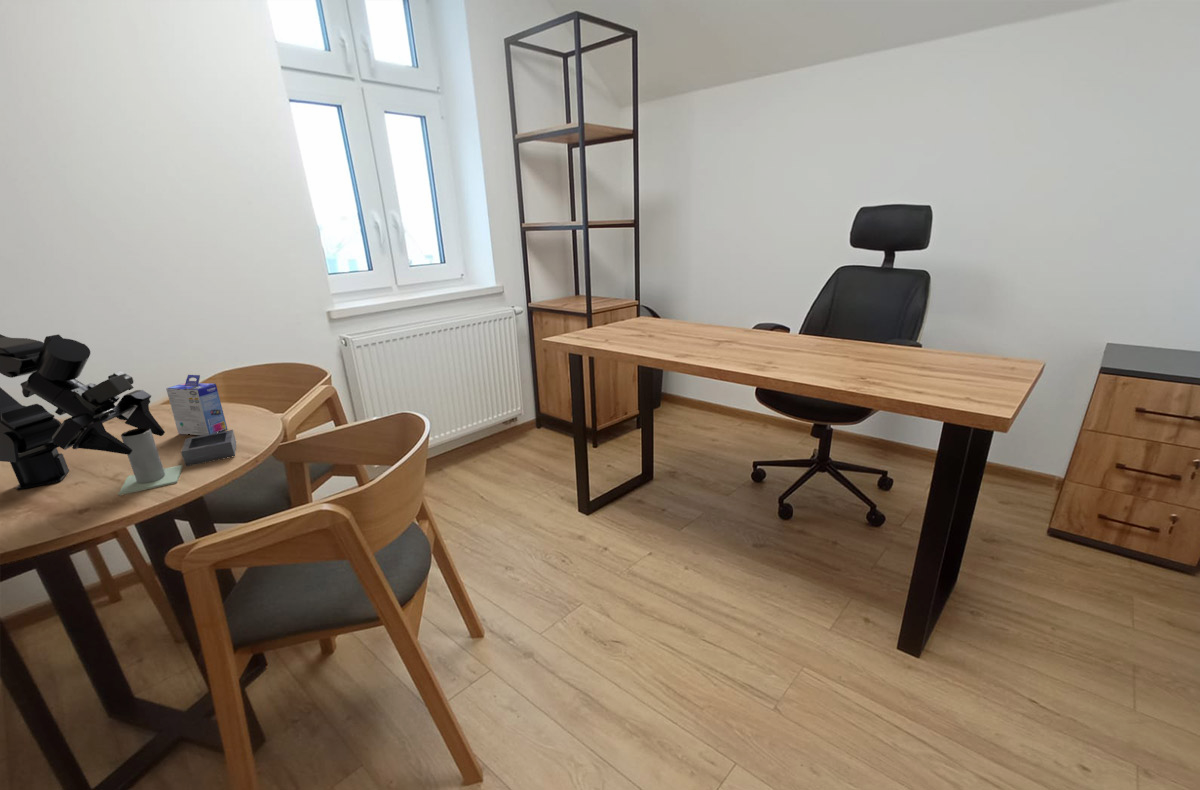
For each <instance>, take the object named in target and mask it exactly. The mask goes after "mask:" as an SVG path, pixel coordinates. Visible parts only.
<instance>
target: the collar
mask: <svg viewBox="0 0 1200 790" xmlns="http://www.w3.org/2000/svg"><path fill="white" fill-rule="evenodd" d="M236 443H237V439H236V435H235V432H234V429H229V430H223V431H220V432H218V433H213V434H207V435H195V436H192V437H187V438H185V441H184V442H183V445H182V448H181V451H180V453H181V456H182V459H183V462H184V465H185V467H191V466H195V465H200V464H205V462H206V463H210V462H209V461H211V462H214V461H213V460H215V461H218V459H220V460H224V459H223V458H225V459H228V458H227V457H230V458H233V457H232V456H235V457H236V452H235V451H237V444H236Z"/></svg>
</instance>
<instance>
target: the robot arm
mask: <svg viewBox="0 0 1200 790" xmlns="http://www.w3.org/2000/svg"><path fill="white" fill-rule="evenodd" d="M90 356H91V350H90V348H89V347H88V345H86V344H85V343H82V342H80V341H77V340H75V339H71V338H66V337H65V338H64V337H62V335H60V334H53V335H47V336H45V338H44V340H43V341H41V340H36V339H32V338H26V337H25V338H24V337H23V338H22V337H8V336H5V335H3V334H0V374H1V375H2V376H4V377H6V378H12V379H13V378H17V377H22V376H26V375H29V376H28V378H27V380H26V381H23V382H20V387H21V389H22V390H21V393H22V396H23V397H24V398H29V397H32V396H34V395H35V396H37V397H39V398H41V399H42V400H44V401H45V402H47V403H49V404H51V405H52V406H54V407H56V408H57V409H56V410H55V411H54V413H55V414H57V415H58V416H63V415H65V414H68V415H69V416H71V417H69V418H66V419H65V420H63V421H62V422H61V421H60V420H58V419H57V418H55V414H52V413H50V412H49V411H48V410H47V409H46V408H45V407H44V406H43V405H41V404H39V403H34V404H30V405H22V404H21V403H20V402H19V401H17V399H15V398H14V397H13V396H11V395H10V394H9V393H8V392H7V391H5V390H4V389H3V388H2V387H1V386H0V462H2V463H3V462H5V463H6V462H8V463H10V466H11V468H12V470H13V472H14V475H15V477H16V479H17V482H18V485H17V486H16V487H15V489H16V490H17V491H20V490H25V489H28V488H29V489H30V488H34V487H39V486H44V485H50V484H55V483H59V482H61V481H62V480H64V478H65V477H66V476H67V474H68V473H69V471H70V469H69V466H68V465H67V462H66V459H65V456H64V454H63V453H59V450H58V448H60V449H62V450H64V451H65V450H67V449H70V448H71V449H73V450H78V449H83V450H93V451H101V452H107V453H115V454H121V455H127V456H128V455H129V454H131V452H132V451H133V450H132V449H131V448H129V447H128V446H127V445H126V444H124V443H123V441H122V440H120V439H119V438H117V437H115V436H114V435H112V434H111V433H110V432H108V431H107V430H106V428H105V425H104V424H103V423H106V422H108V421H110V420H113V419H114V418H117V420H118V419H119V420H120V421H125V422H124V424H126V425H128V426H130V427H134V428H135V429H137V428H150V429H151V432H152V435H156V436H159V437H162V436H164V435H165V433H166V432H165V430H164V429H163V427H162V426H161V425H160V424H159V422H158V421H157V420H156V419H155V417H154V416H153V415H152V412H151V411H150V407H149V405H150V404H151V397H152V395H151V394H150V393H148V392H146V391H145V390H144V389H137V390H136V389H135V390H134V391H131V392H129V393H126V394H124V395H123V396H122V397H120V395H121V394H123V393H125V392H126V391H130V390H132V389H134V386H133V384H134V377H132V376H130V375H129V374H127V373H125V372H123V371H122V370H119V371H116V372H114V373H113V374H110V375H109V376H108V377H107V379H106V380H104V381H101V382H99V383H98V384H96V383H88V384H84V383H82V382H81V381H79V380H78V378H79V377H80V375H81V374H82V372H83V369H84V368H85V366H86V364H87V362H88V360H89V358H90ZM120 398H121V399H120ZM115 403H117V404H116V405H115Z"/></svg>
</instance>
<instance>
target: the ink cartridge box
mask: <svg viewBox="0 0 1200 790" xmlns="http://www.w3.org/2000/svg"><path fill="white" fill-rule="evenodd" d="M200 378H201V375H200V374H187V377H186V379H185V383H180V384H177V385H173V386H169V387H166V389H165V390H166V394H167V397H168V401H169V404H170V407H171V413H172V414H173V419H174V422H175V427H176V430H177V434H178V435H188V434H190V435H191V436H192V435H194V436H202V435H207V434H213V433H217V432H219V431H220V432H223V431H225V430H224V429H226V430H228V425H227V422H226V417H225V414H224V410H223V407H222V403H221V398H220V395H219V391H218V390H219V389H218V387H217V384H216V383H207V382H206V383H201V382H200ZM190 379H195V380H190ZM222 430H223V431H222Z"/></svg>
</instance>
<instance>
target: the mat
mask: <svg viewBox="0 0 1200 790" xmlns="http://www.w3.org/2000/svg"><path fill="white" fill-rule="evenodd" d="M183 467H184V466H183V464H179V465H175V466H172V467H171V466H169V467H165V468H163V469H164V472H165V476H164V477H163V478H161V479H159V480H156V481H153V482H149V483H138V482H137V481H136V478H135V475H134V474H132V475H131V474H130V475H128V476H127V478H126V479H125V481H124V482H123V485H122V486H121V488H120V490H119V492H118V493H117V494H118V496H122V494H124V495H128V494H133V493H137V492H141V491H147V490H150V489H155V488H159V487H164V486H168V485H169V486H170V485H173V484H177V483H178V481H179V478H180V475H181V472H182V470H183Z"/></svg>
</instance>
